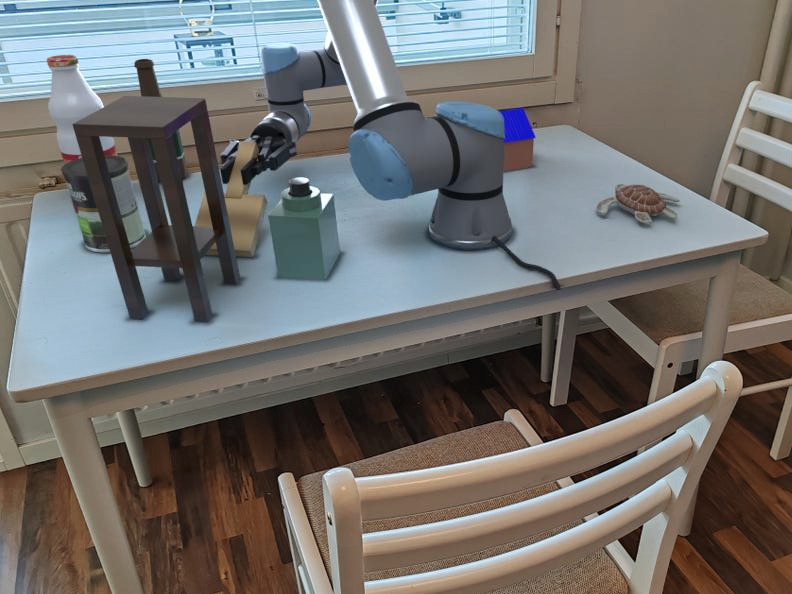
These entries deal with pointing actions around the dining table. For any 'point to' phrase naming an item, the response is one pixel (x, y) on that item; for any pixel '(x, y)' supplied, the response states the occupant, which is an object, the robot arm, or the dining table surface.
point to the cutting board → (239, 207)
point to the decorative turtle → (639, 202)
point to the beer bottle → (151, 89)
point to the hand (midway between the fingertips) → (233, 176)
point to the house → (517, 140)
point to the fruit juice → (72, 105)
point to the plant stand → (159, 196)
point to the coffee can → (88, 209)
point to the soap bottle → (304, 235)
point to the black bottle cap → (299, 187)
